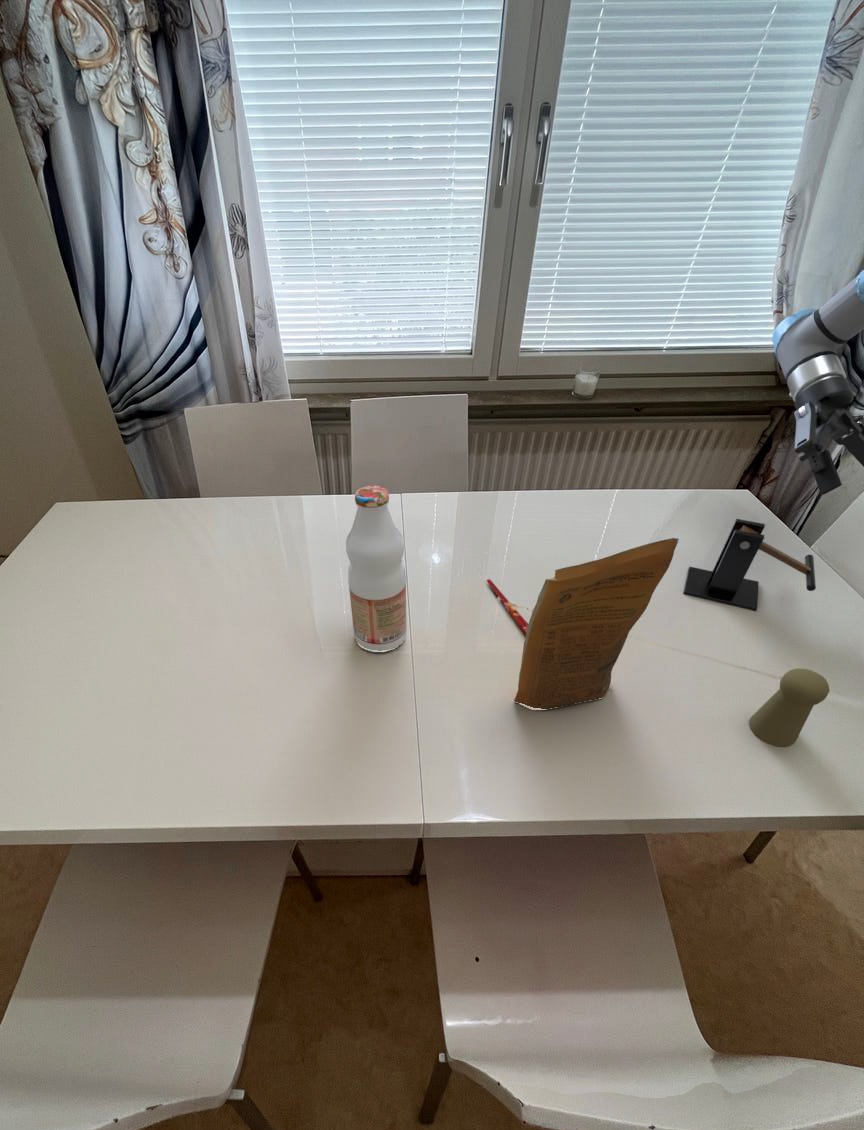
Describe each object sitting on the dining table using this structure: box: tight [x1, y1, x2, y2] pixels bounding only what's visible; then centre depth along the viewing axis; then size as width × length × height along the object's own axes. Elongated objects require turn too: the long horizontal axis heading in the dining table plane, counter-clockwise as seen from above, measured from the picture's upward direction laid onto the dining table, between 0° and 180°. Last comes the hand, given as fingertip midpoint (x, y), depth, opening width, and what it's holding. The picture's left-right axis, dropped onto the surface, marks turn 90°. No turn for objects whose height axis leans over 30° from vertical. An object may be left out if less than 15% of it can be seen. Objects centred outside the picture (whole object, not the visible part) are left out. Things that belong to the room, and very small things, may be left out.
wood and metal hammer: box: [739, 525, 817, 592], centre depth 92 cm, size 14×10×2 cm
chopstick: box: [486, 578, 529, 636], centre depth 97 cm, size 2×24×1 cm, turn 18°
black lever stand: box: [683, 518, 766, 612], centre depth 96 cm, size 12×9×14 cm
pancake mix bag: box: [513, 537, 680, 709], centre depth 74 cm, size 7×19×28 cm, turn 102°
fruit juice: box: [345, 485, 408, 651], centre depth 86 cm, size 9×9×28 cm
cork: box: [748, 667, 830, 748], centre depth 73 cm, size 6×6×11 cm
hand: (860, 495), depth 87 cm, fingers open, 13 cm apart
